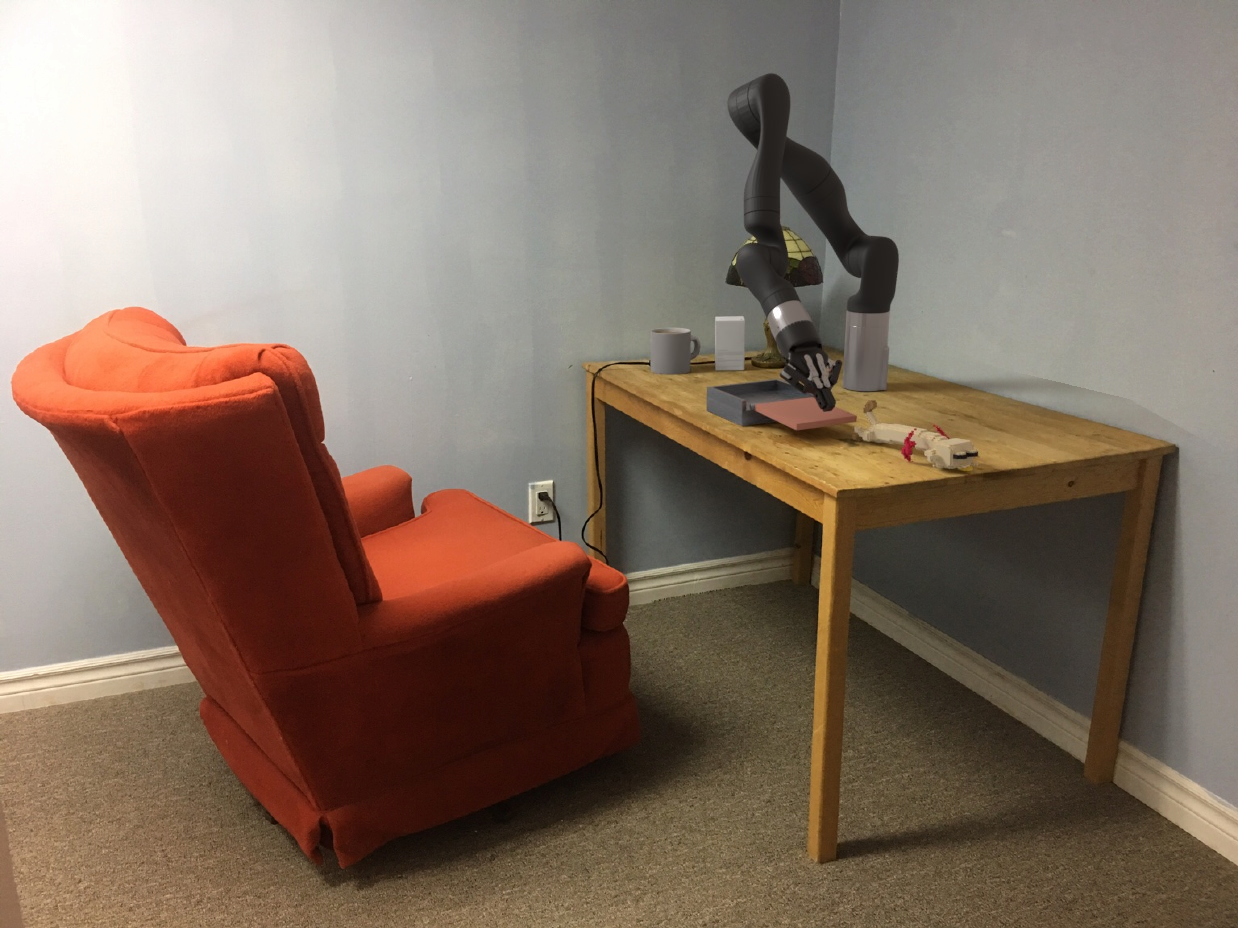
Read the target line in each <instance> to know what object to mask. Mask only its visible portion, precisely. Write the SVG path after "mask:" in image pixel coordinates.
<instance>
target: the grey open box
mask: <svg viewBox="0 0 1238 928" xmlns="http://www.w3.org/2000/svg"><path fill="white" fill-rule="evenodd" d="M810 396H813V395H812V394H811V393H806V394H804V393H802V392H801V391H799V390H798V389H796V388H795V387H794V386H792V385H791V384H789V383H788V382H787V381H785V380H784V379H780V378H775V379H774V378H772V379H764V380H756V381H748V382H740V383H739V382H738V383H729V384H720V385H712V386H711V385H710V386H706V411H707V412H709V413H711V414H713V415H716V416H717V417H720V418H722V419H724V420H726V421H729V422H731V423H734V424H736V425H739V426H740V427H746V426H754V425H762V424H769V423H777V422H778V421H776V420H774V419H772V418H770V417H767V416H765V415H763V414H761V413H759V412H757V411H755V410H750V404H754V403H762V402H770V401H778V400H786V399H794V398H802V397H810ZM813 397H814V396H813ZM814 398H815V397H814Z"/></svg>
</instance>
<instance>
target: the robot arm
mask: <svg viewBox="0 0 1238 928" xmlns="http://www.w3.org/2000/svg"><path fill="white" fill-rule="evenodd" d="M726 102H727V111H728V115H729V117H730V119H731V121H732V122H733V125H734V126H735V127H736V128H737V130H738V132H740V133H741V135H742V136H744V138H745V139H746V140H747V141H748V142H749V143H750V144H751V145H752V146H753V147H754V149H756V153H755V156H754V159H753V162H752V164H751V167H750V170H749V172H748V174H747V177H746V182H745V184H744V191H743V226H744V227H743V228H744V230H745V231H746V232H747V233H748V234H750V235H752V236H753V237H754V239H755V240H756V242H748V243H745V244H743V245H742V246H741V247H740V248H739V249H738V250H737V254H736V257H735V267H736V271H737V274H738V276H739V278H740V280H741V281H742V282H743V284H744V285H745V287H746V289H748V291H750V294H752V295H753V296H754V298H755V299H756V300H757V301H758V302H759V304H760V306H761V308H762V311H763V313H764V316H765V317H766V320H767V322H768V325H769V330H770V332H771V335H772V336H773V339H774V341H775V343H776V345H777V346H778V350H779V352H780V354H781V356H782V359H783V360H785V366H784V368H782V370H781V371H780V373H779V376H780V378H781V379H782V380H783V381H786V382H788V383H789V384H791V385H792V386H794V387H795V388H796V389H798V390H799V391H801V392H802V393H804V394H806V393H811V394H812V395H813V396H814V397H815V399H816V401H817V404H818V406H819V407H820V409H822V410H823V412H827V411H832V410H833V408H834V407H836V404H837V401H836V399H835V397H834V394H833V393H832V389H833V388H834V387H835V385H837V383H838V381H839V378H840V373H841V370H842V366H843V370H842V372H843V373H842V387H843V388H844V389H846V390H850V391H859V392H876V391H887V386H888V375H889V374H888V373H889V372H888V371H889V358H890V347H889V346H888V344H889V329H890V317H891V316H890V315H891V305H892V302H893V300H894V298H895V295H896V289H897V281H898V272H899V262H900V256H899V254H900V253H899V249H898V246H897V243H896V242H895V241H894V240H893V239H891V238H890V237H887V236H880V235H878V236H877V235H869V234H867V233H866V232H865V231H864V230H863V229H862V227H860V226H859V225H858V224H857V222H856V221H855V220H854V218H853V217H852V215H851V213H850V211H849V207H848V200H847V194H846V190H845V186H844V185H843V182H842V181H841V179H840V177H839V176H838V174H837V173H836V171H835V170H834V169H833V167H832V166H831V165H830V163H829V162H828V161H827V160H826V158H824V157H823V156H822V155H821V154H819V153H817V152H816V151H815V150H813V149H810V148H808V147H806V146H804V145H803V144H800V143H798V142H797V141H795V140H793V139H791V138H789V137H788V136H787V135H788V127H789V122H790V121H789V120H790V114H791V93H790V89H789V87H788V85H787V83H786V81H785V80H784V78H782V77H781V76H780V75H779V74H777V73H773V72H771V73H765V74H763V75H760V76H758V77H756V78H754V79H753V80H750V81H748V82H747V83H744V84H742V85H740V86H738V87H737V88H734V89H733V90H732V91H731V93H730V94H729V95H728V98H727V101H726ZM781 180H782V182H783V183H784V184H785V185H786V187H787V189H788V190H789V191H790V193H791V194H792V195H793V197H794V198H795V199H796V201H797V202H798V203H799V205H800V206H801V208H802V209H803V210H804V211H805V213H807V215H808V216H809V217H810V219H811V220H812V221H813V223H814V224H815V226H817V228H818V229H819V230H820V231H821V233H822V234H823V236H824V237H825V238H826V239H827V241H828V243H829V245H830V246H831V248H832V250H833V252H834V253H835V255H836V256H837V258H838V260H839V262H840V263H841V265H842V267H843V269H844V270H845V271H846V273H849V274H850V275H851V276H852V277H855V278H858V279H860V285H859V289H858V290H857V292H856V293H855V294H852V295H851V296H849V297H848V298H847V303H846V316H845V334H844V335H845V336H844V351H843V361H842V360H841V359H837V360H836V361H835V360H832V359H830V357H829V355H828V354H827V352H826V351H825V350H824V349H823V344H822V340H821V337H820V336H819V333H818V332H817V329H816V326H815V325H814V322H813V321H812V318H811V317H810V315H809V313H808V310H807V309H806V308H805V306H804V304H803V303H802V301H801V299H800V297H799V295H798V293H797V290H796V288H795V287H794V285H793V284H792V283H791V282H790V281H789V280H787V279H786V278H784V277H785V276H786V274H787V272H788V269H789V263H790V262H789V260H790V258H789V250H788V247H787V243H786V238H785V235H784V231H783V228H782V225H781Z"/></svg>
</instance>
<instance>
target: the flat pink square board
mask: <svg viewBox="0 0 1238 928" xmlns="http://www.w3.org/2000/svg"><path fill="white" fill-rule="evenodd" d="M750 410H755V411H757V412H759V413H761V414H763V415H765V416H767V417H770V418H772V419H774V420H776V421H777V422H778V423H780V424H782V425H783V426H787V427H788V428H790V429H792V430H794V431H800V430H801V431H803V430H809V429H816V428H823V427H831V426H838V425H844V424H851V423H856V422H857V420H858V418H857V417H858V416H857V415H856V414H854V413H851V412H849V411H846V410H844V409H842V408H840V407H837V406H835V407H834V408H833V410H832V411H827V412H823V410H822V409H820V407H819V406H818V404H817V401H816V399H815V398H814V397H813V396H810V397H802V398H794V399H786V400H778V401H770V402H762V403H754V404H750Z"/></svg>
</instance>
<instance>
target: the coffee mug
mask: <svg viewBox="0 0 1238 928" xmlns="http://www.w3.org/2000/svg"><path fill="white" fill-rule="evenodd" d="M691 333H692V331H691V329H689V328H682V327H660V328H659V327H657V328H653V329H651V330H650V336H649V337H650V372H651V373H654V374H657V375H668V376H669V375H682V374H683V375H684V374H687V373H690V372H691V361H692V360H694V359H695V358H697V357H698V356H699V354H700V352H701V341H700V339H699V337H697V336H696V335H692V334H691ZM691 342H692V343H693V351H692V352H691V347H692V345H691V344H692V343H691Z"/></svg>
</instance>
